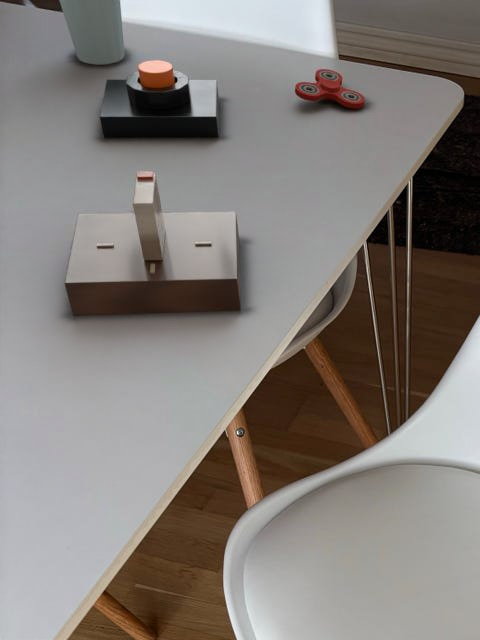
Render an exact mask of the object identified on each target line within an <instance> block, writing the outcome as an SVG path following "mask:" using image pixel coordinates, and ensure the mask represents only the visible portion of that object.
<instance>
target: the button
mask: <svg viewBox="0 0 480 640" xmlns="http://www.w3.org/2000/svg"><path fill="white" fill-rule="evenodd" d="M173 70H174V67H173V65H172V63H171V62H168V61H165V60H158V59H154V60H146V61H143V62H141V63H139V64H138V65H137V71H139V77H140V82H141V85H142V86H146V87H150V88H164V87H169V86H172V85H174V84H175V79H174V73H173Z"/></svg>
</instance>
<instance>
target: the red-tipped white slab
mask: <svg viewBox="0 0 480 640" xmlns="http://www.w3.org/2000/svg"><path fill="white" fill-rule="evenodd" d="M135 176H136V177H135V183H134V190H133V199H132V207H133V213H135V218H136V223H137V229H138V234H139V239H140V244H141V249H142V254H143V259H144V260H163V251H164V238H165V225H164V219H163V213H164V212H163V209H162V208H163V207H162V202H161V196H160V191H159V185H158V179H157V174H156V173H154V171H137V172H136V174H135Z"/></svg>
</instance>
